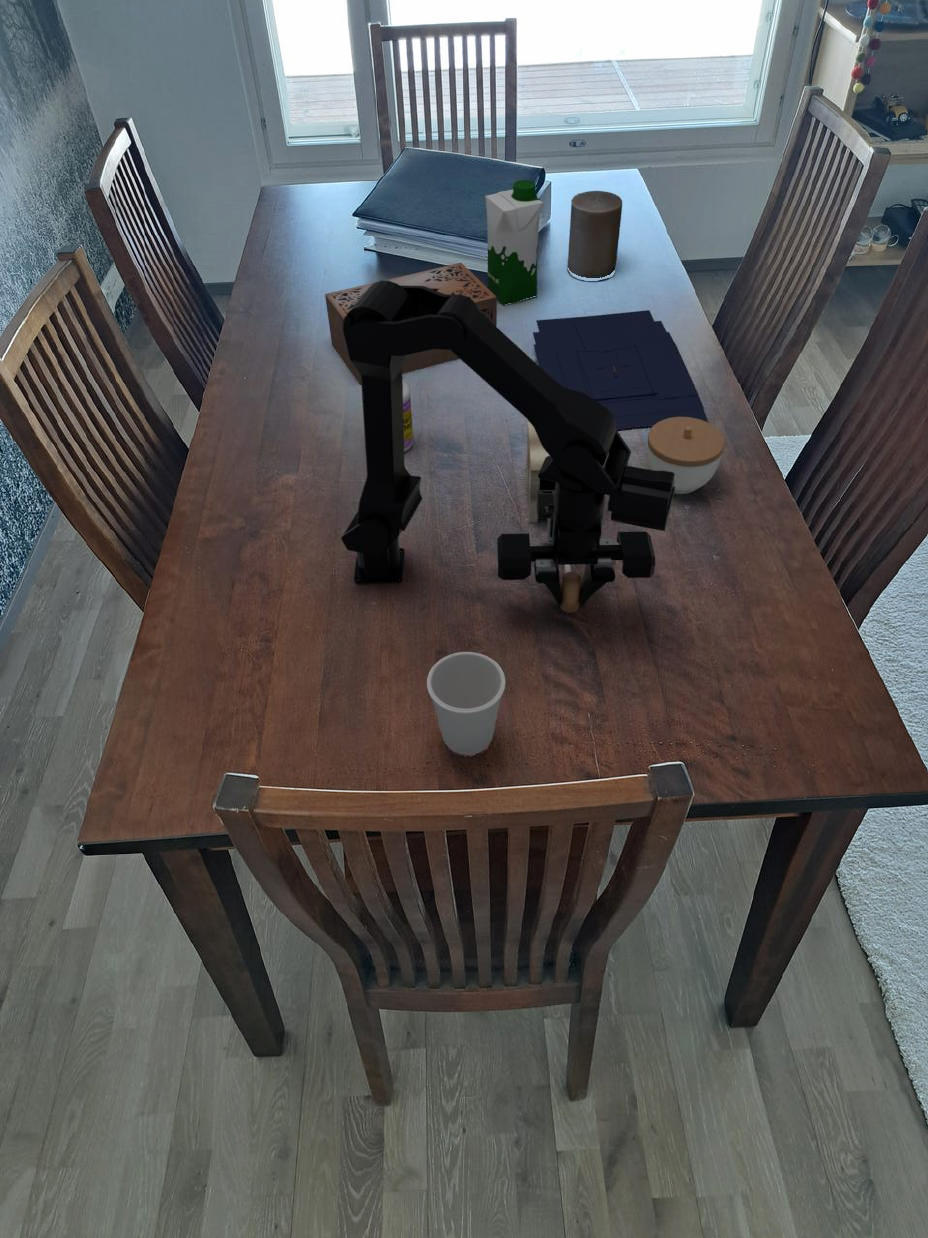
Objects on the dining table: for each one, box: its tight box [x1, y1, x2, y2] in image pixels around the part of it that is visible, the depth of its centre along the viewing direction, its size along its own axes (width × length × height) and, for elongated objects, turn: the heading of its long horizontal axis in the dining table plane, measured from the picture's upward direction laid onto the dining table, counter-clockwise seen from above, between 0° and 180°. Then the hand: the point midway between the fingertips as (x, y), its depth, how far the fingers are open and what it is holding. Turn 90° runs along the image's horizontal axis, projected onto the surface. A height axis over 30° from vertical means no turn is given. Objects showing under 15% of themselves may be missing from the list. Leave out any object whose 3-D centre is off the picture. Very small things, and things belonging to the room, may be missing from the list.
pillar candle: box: [567, 190, 623, 278], centre depth 175 cm, size 10×10×15 cm
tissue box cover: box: [324, 262, 498, 386], centre depth 159 cm, size 26×14×10 cm, turn 115°
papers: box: [532, 309, 709, 431], centre depth 153 cm, size 24×30×4 cm
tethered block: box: [546, 489, 583, 614], centre depth 121 cm, size 19×5×5 cm, turn 178°
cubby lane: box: [525, 421, 550, 523], centre depth 129 cm, size 11×9×9 cm
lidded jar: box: [646, 417, 726, 495], centre depth 131 cm, size 11×11×9 cm
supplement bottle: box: [402, 375, 414, 453], centre depth 138 cm, size 7×7×13 cm
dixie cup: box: [426, 651, 506, 755], centre depth 100 cm, size 8×8×10 cm
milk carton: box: [485, 179, 544, 306], centre depth 168 cm, size 9×9×20 cm
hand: (570, 603), depth 116 cm, fingers closed on tethered block, 2 cm apart
